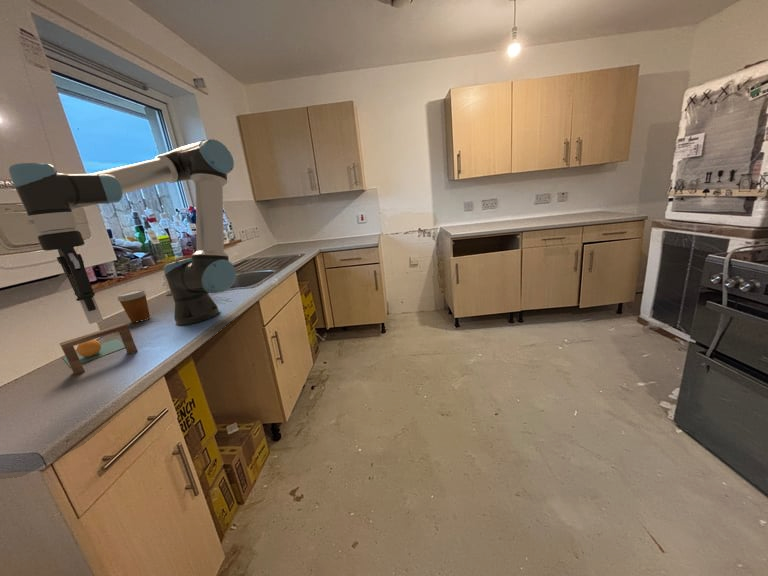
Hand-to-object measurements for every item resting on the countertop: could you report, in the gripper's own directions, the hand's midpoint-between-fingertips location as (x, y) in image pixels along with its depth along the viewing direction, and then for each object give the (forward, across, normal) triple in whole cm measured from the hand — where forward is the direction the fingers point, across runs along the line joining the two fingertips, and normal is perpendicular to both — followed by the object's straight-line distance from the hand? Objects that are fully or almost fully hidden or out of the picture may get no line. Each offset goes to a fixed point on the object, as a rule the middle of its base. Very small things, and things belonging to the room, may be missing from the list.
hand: (96, 321), depth 82 cm
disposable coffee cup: (+15, -48, +19) cm, 54 cm away
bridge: (+14, -10, 0) cm, 18 cm away
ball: (+12, -21, -1) cm, 24 cm away
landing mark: (+14, -24, 0) cm, 28 cm away
